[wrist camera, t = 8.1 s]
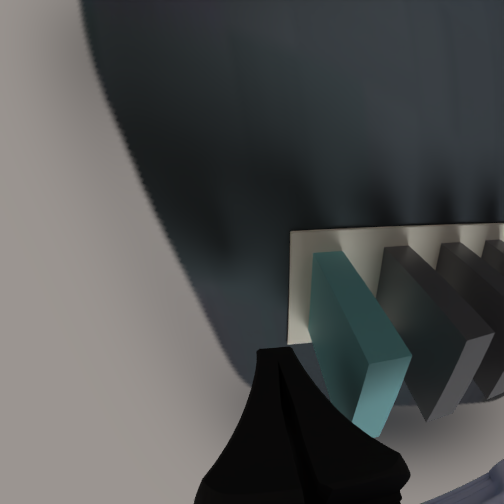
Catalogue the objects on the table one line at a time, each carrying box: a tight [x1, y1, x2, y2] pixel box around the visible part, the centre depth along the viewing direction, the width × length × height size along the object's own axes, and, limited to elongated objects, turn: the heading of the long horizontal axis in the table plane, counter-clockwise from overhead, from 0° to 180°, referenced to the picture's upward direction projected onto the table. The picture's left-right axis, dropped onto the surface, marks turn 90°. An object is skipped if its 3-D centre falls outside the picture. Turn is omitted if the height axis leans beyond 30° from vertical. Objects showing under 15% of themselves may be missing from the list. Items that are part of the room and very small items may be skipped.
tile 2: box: [376, 245, 495, 422], centre depth 14 cm, size 2×5×8 cm, turn 2°
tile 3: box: [435, 242, 504, 399], centre depth 14 cm, size 2×5×8 cm, turn 2°
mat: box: [287, 223, 504, 345], centre depth 18 cm, size 20×7×1 cm, turn 92°
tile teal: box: [308, 251, 412, 438], centre depth 14 cm, size 2×5×8 cm, turn 2°
